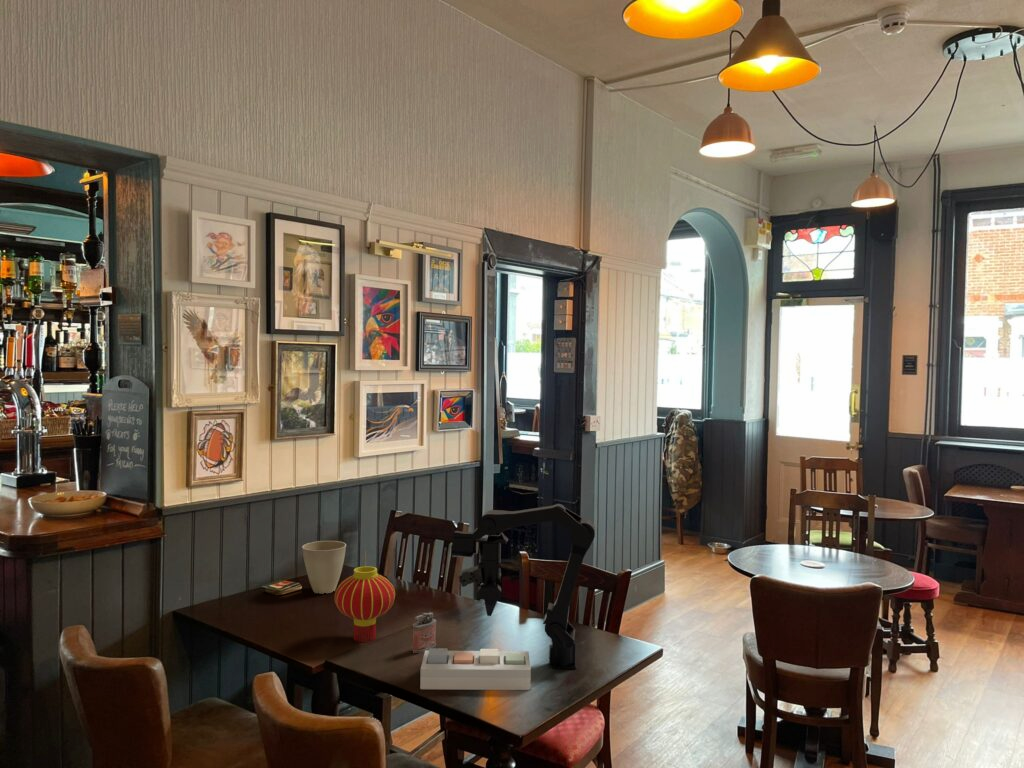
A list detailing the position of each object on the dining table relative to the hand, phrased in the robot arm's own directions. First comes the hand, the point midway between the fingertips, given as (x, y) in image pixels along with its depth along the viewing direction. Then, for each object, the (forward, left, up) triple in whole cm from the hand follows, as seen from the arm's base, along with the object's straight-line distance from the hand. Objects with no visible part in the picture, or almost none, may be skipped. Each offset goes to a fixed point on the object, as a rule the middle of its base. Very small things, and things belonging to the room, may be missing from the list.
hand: (489, 615), depth 204 cm
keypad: (+3, +13, -12) cm, 18 cm away
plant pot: (+58, -60, -12) cm, 84 cm away
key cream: (0, +13, -7) cm, 15 cm away
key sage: (-7, +13, -9) cm, 17 cm away
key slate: (+13, +13, -7) cm, 20 cm away
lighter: (+18, -7, -12) cm, 23 cm away
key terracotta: (+6, +13, -9) cm, 17 cm away
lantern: (+36, -15, -12) cm, 41 cm away
